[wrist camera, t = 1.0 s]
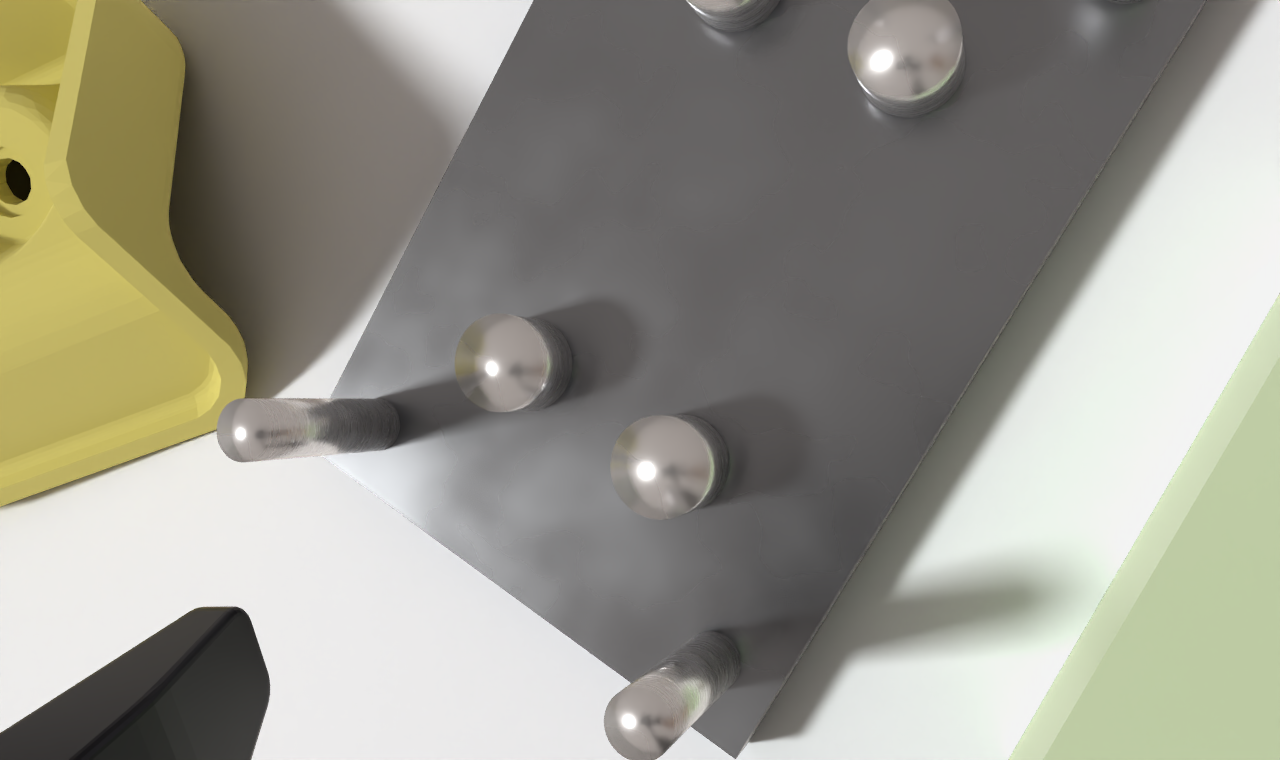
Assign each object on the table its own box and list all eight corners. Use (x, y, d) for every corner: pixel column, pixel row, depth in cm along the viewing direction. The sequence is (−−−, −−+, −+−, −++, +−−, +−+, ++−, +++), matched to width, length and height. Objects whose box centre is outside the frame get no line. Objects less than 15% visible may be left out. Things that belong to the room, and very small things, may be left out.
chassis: (1237, -49, 20) (1316, -209, 14) (747, 744, 22) (666, 848, 17) (697, -266, 23) (606, -458, 18) (331, 443, 26) (160, 454, 21)
